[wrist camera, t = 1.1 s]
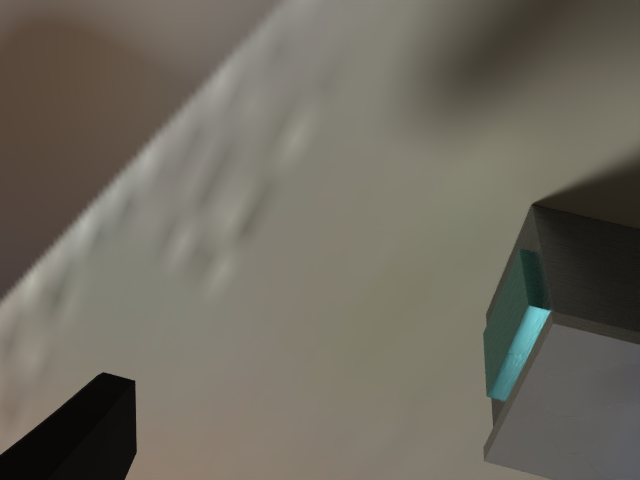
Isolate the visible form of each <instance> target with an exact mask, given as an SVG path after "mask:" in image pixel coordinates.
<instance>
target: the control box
mask: <svg viewBox="0 0 640 480" xmlns="http://www.w3.org/2000/svg"><path fill="white" fill-rule="evenodd" d="M486 321H487V326H486V329H485V331H484V333H483V337H484V355H485V374H486V392H487V397H491V400H492V416H493V429H492V431H491V433H490V435H489V437H488V439H487V441H486V443H485V445H484V461H486V462H489V463H493V464H497V465H501V466H504V467H508V468H512V469H516V470H519V471H523V472H527V473H530V474H534V475H538V476H542V477H545V478H549V479H553V480H640V230H638V229H634V228H630V227H625V226H621V225H617V224H613V223H608V222H604V221H600V220H595V219H591V218H587V217H582V216H578V215H574V214H570V213H565V212H561V211H557V210H552V209H548V208H544V207H540V206H535V205H531V207H530V209H529V212H528V214H527V217H526V219H525V222H524V224H523V226H522V229H521V231H520V234H519V236H518V238H517V241H516V243H515V246H514V248H513V251H512V253H511V255H510V258H509V260H508V263H507V265H506V267H505V270H504V272H503V275H502V277H501V280H500V282H499V284H498V287H497V289H496V292H495V294H494V297H493V299H492V301H491V304H490V306H489V309H488V311H487V313H486Z"/></svg>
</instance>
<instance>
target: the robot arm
mask: <svg viewBox="0 0 640 480" xmlns="http://www.w3.org/2000/svg"><path fill="white" fill-rule="evenodd" d="M136 453H137V443H136V394H135V381H134V380H130V379H127V378H123V377H119V376H115V375H112V374H108V373H104V372H103V373H101V374H99V375H97V376H96V377H95V378H94V379H93V380H92V381H90V382H89V383H88V384H87V385H86V386H85V387H83V388H82V389H81V390H80V391H79V392H78V393H76V394H75V395H74V396H73V397H72V398H71V399H69V400H68V401H67V402H66V403H65V404H63V405H62V406H61V407H60V408H59V409H57V410H56V411H55V412H54V413H53V414H51V415H50V416H49V417H48V418H46V419H45V420H44V421H43V422H42V423H40V424H39V425H38V426H37V427H35V428H34V429H33V430H32V431H30V432H29V433H28V434H27V435H25V436H24V437H23V438H22V439H20V440H19V441H18V442H16V443H15V444H14V445H13V446H11V447H10V448H9V449H7V450H6V451H5V452H4V453H2V454H1V455H0V480H125V478H126V475H127V473H128V471H129V469H130V466H131V464H132V462H133V460H134V457H135V455H136Z"/></svg>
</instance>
